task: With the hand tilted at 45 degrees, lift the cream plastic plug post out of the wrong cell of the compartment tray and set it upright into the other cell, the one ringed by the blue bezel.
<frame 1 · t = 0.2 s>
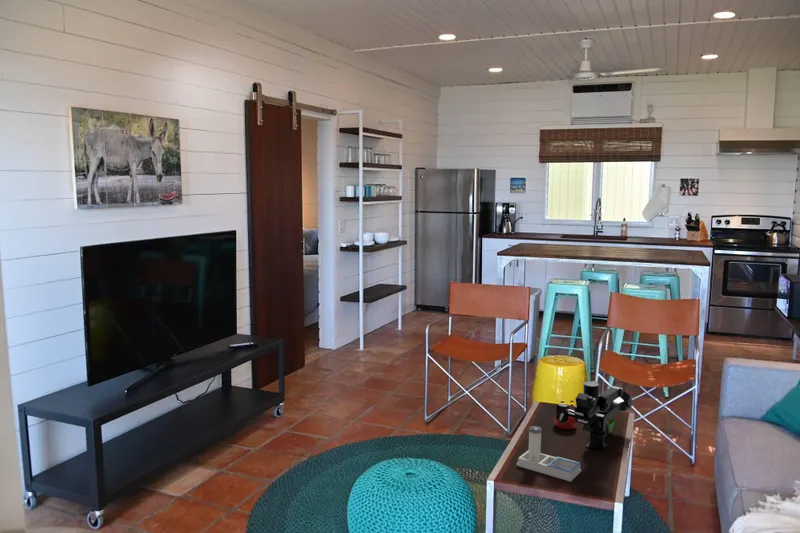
hand: (571, 425, 232), 17 cm above the table, tool horizontal, fingers open, 9 cm apart
compartment tray: (548, 468, 234), on the table
fruit basket: (600, 433, 267), on the table, touching arm
plug post: (534, 461, 238), point 1 cm above the table, touching compartment tray
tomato: (565, 427, 274), on the table
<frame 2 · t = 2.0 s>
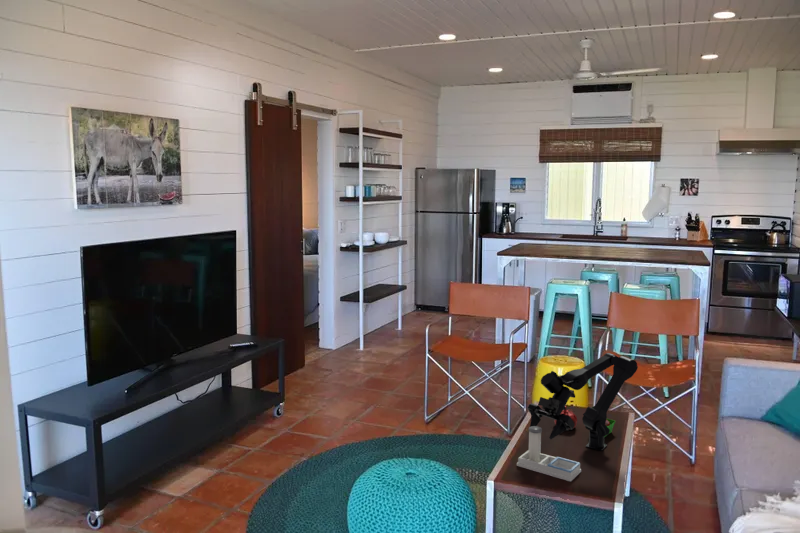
hand: (540, 435, 238), 11 cm above the table, tool tilted 45°, fingers open, 9 cm apart
fruit basket: (600, 434, 267), on the table
everything else where it was.
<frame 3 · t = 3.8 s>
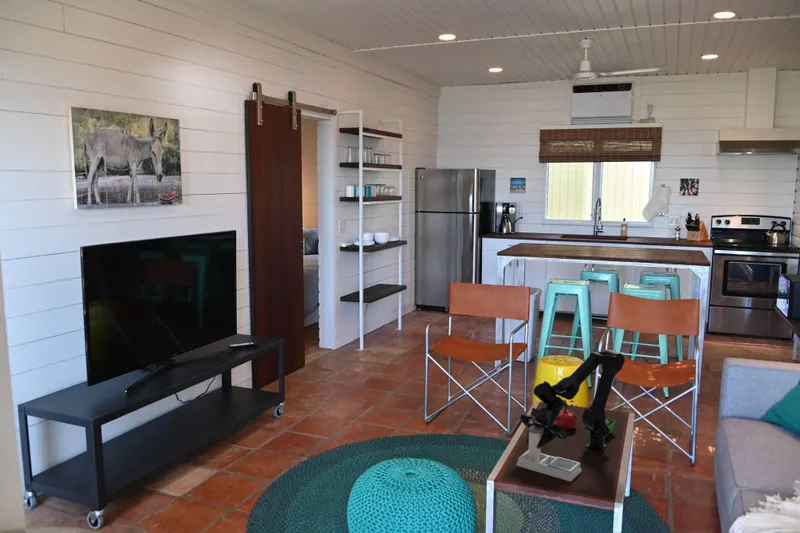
hand: (532, 446, 236), 8 cm above the table, tool tilted 45°, fingers closed on plug post, 4 cm apart
plug post: (534, 461, 238), point 1 cm above the table, touching compartment tray, gripper
everything else where it was.
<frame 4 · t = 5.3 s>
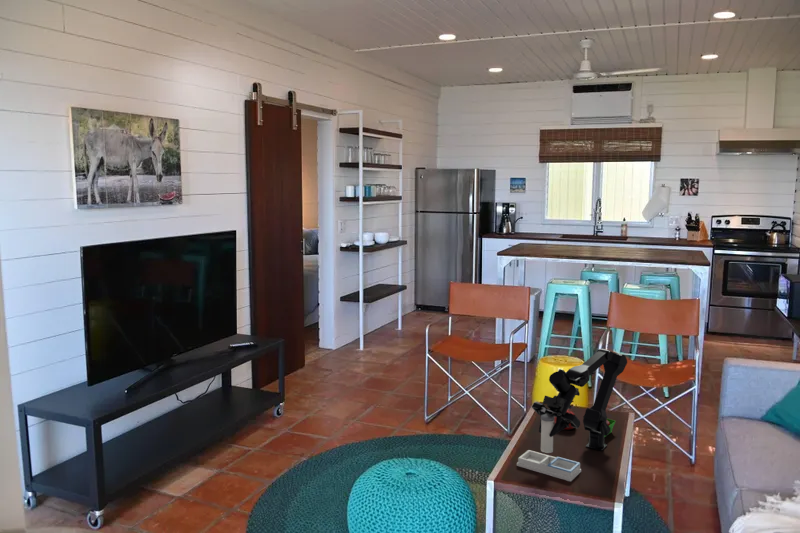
hand: (544, 434, 232), 13 cm above the table, tool tilted 45°, fingers closed on plug post, 4 cm apart
plug post: (546, 450, 234), point 7 cm above the table, touching gripper
everything else where it was.
when the fingers open (9 cm above the table, at t = 7.2 s): plug post drops 1 cm, resting on compartment tray.
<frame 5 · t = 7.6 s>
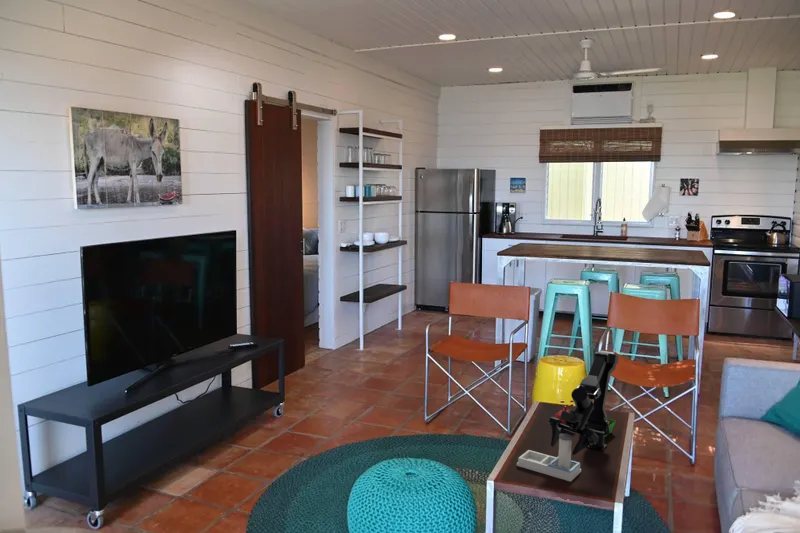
hand: (562, 450, 229), 9 cm above the table, tool tilted 45°, fingers open, 9 cm apart
plug post: (563, 470, 231), point 1 cm above the table, touching compartment tray
everything else where it was.
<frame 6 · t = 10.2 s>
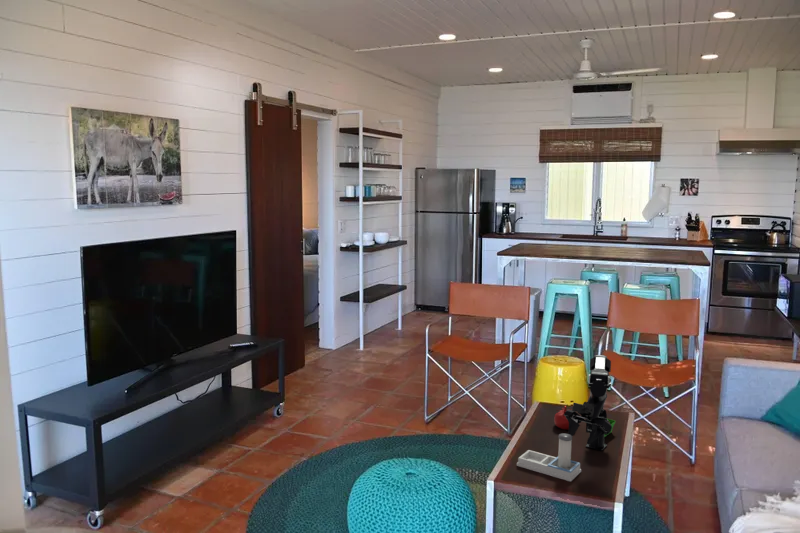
hand: (578, 441, 235), 10 cm above the table, tool tilted 40°, fingers open, 9 cm apart
nothing on the table moved.
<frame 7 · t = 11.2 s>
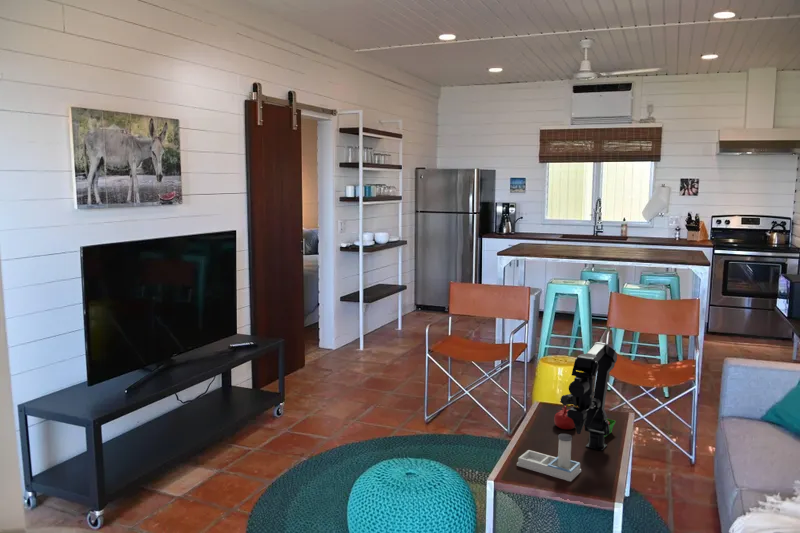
hand: (583, 429, 237), 13 cm above the table, tool pointing down, fingers open, 9 cm apart
nothing on the table moved.
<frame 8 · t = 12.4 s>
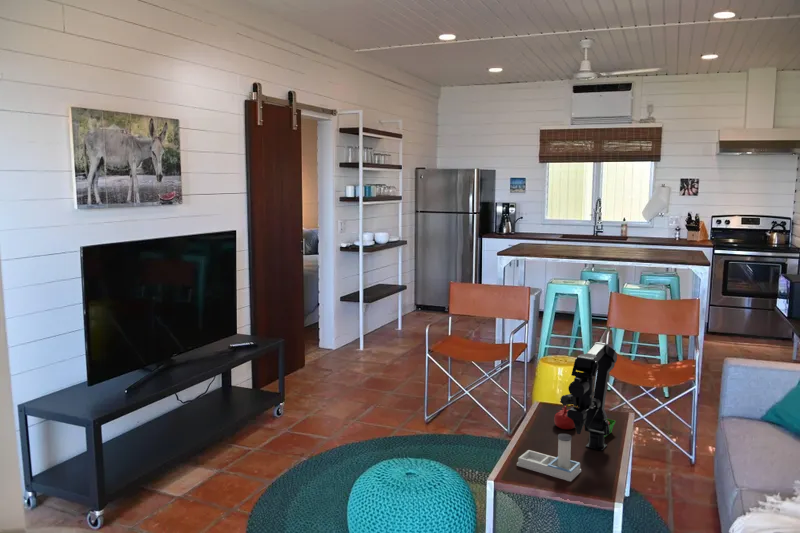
hand: (583, 430, 237), 13 cm above the table, tool pointing down, fingers open, 9 cm apart
nothing on the table moved.
at the end: plug post 0.0 cm from the target spot on the compartment tray, point 1.0 cm above the compartment tray's base; plug post tilted 1°; the gripper is holding nothing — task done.
